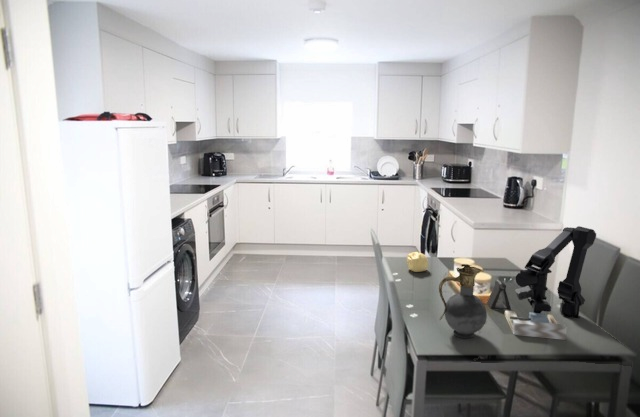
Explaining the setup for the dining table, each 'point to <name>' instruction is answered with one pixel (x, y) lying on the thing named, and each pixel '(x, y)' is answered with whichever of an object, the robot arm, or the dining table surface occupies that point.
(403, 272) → the dining table surface
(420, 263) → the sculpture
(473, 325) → the pitcher
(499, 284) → the phone stand
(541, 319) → the pale blue mallet
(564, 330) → the beige grey patterned tray
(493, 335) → the dining table surface
